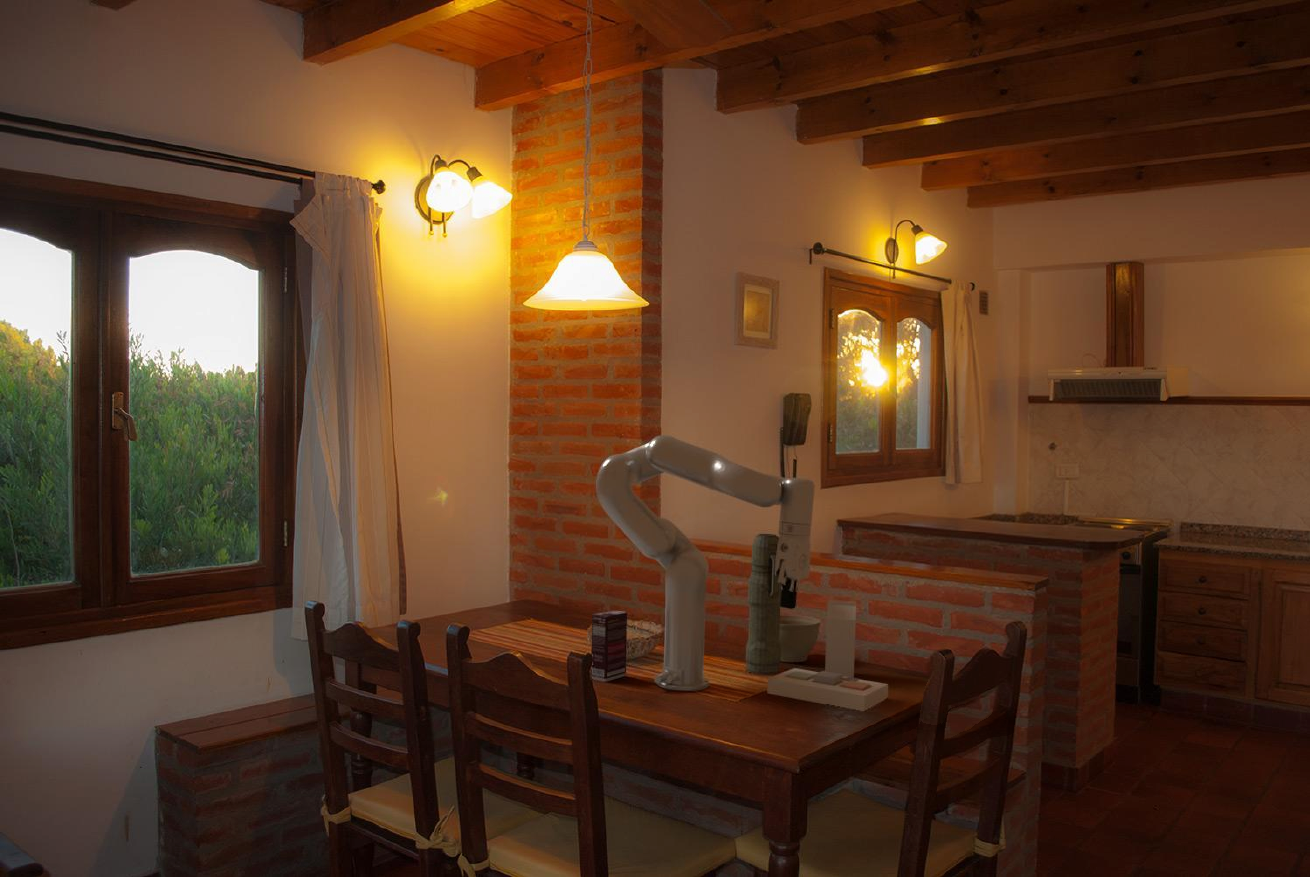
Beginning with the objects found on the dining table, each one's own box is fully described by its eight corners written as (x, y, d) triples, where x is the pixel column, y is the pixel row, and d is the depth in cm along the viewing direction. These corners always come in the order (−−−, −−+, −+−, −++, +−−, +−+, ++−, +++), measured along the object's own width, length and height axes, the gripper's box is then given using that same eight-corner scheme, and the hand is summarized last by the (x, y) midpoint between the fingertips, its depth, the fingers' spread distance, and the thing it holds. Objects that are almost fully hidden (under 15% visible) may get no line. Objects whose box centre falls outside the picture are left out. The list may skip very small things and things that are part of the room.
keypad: (864, 711, 221) (864, 694, 221) (767, 693, 235) (767, 676, 235) (887, 699, 233) (888, 682, 233) (794, 682, 246) (794, 666, 246)
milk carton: (853, 679, 251) (856, 604, 251) (824, 677, 253) (827, 602, 253) (853, 673, 258) (856, 599, 258) (825, 671, 260) (828, 598, 260)
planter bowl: (807, 652, 282) (808, 614, 282) (827, 666, 266) (828, 625, 266) (752, 653, 279) (753, 614, 279) (768, 666, 263) (769, 624, 263)
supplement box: (611, 673, 250) (613, 609, 250) (626, 676, 247) (628, 612, 247) (589, 679, 243) (591, 613, 243) (604, 682, 240) (607, 616, 240)
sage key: (805, 688, 234) (805, 678, 234) (785, 685, 237) (786, 674, 237) (814, 685, 239) (814, 674, 239) (795, 681, 241) (795, 671, 241)
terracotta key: (861, 699, 227) (862, 688, 227) (841, 695, 229) (841, 684, 229) (870, 695, 231) (870, 684, 231) (849, 691, 233) (850, 680, 233)
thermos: (761, 677, 250) (766, 537, 250) (735, 667, 261) (740, 532, 261) (790, 674, 254) (795, 536, 254) (764, 665, 265) (769, 532, 265)
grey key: (833, 688, 230) (833, 678, 230) (813, 685, 233) (813, 674, 233) (842, 684, 235) (842, 674, 235) (822, 681, 237) (822, 670, 237)
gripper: (795, 533, 229) (788, 613, 229) (822, 531, 241) (815, 607, 241) (765, 529, 233) (758, 608, 233) (794, 527, 245) (787, 602, 245)
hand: (787, 607), depth 237 cm, fingers closed
